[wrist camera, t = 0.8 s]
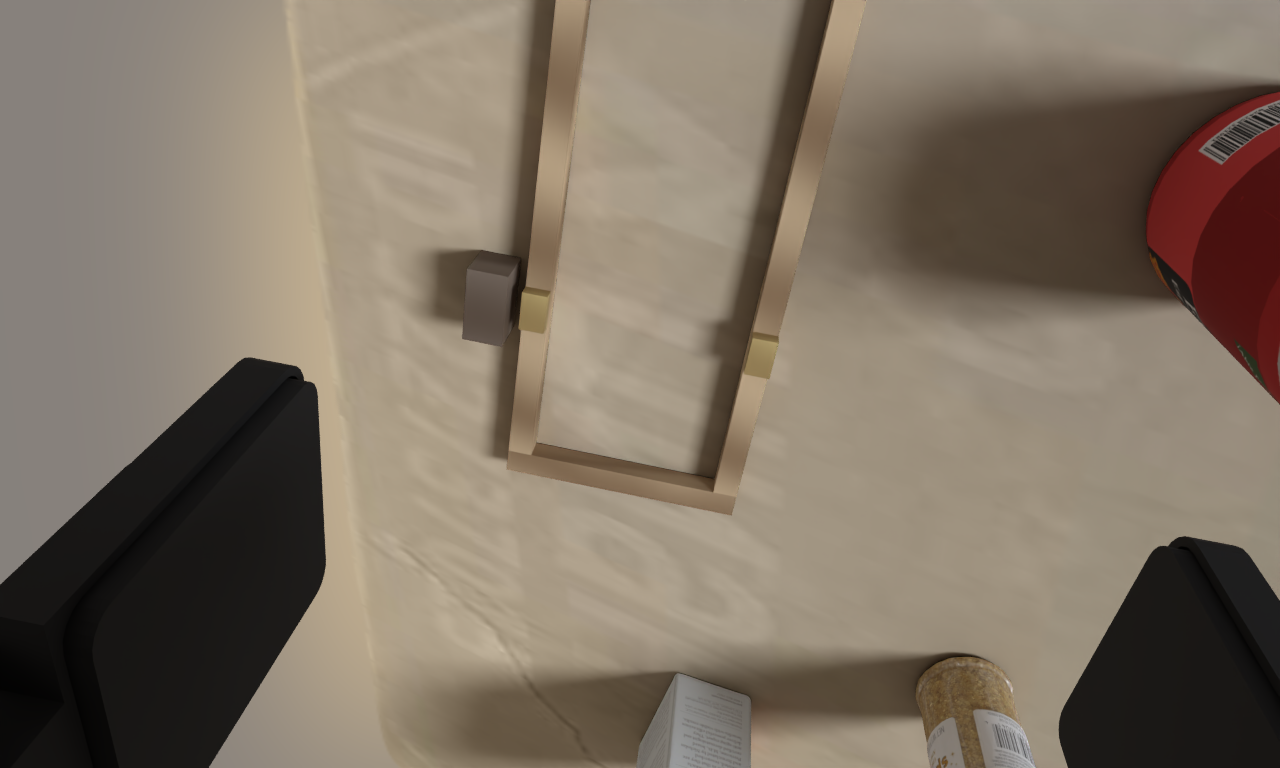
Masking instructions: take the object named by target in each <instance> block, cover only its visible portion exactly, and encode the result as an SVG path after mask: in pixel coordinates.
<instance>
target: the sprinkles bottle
mask: <svg viewBox="0 0 1280 768" xmlns="http://www.w3.org/2000/svg"><path fill="white" fill-rule="evenodd" d="M1013 695H1014V693H1013V687H1012V684H1011V681H1010V679H1009V678H1008V676H1007V675H1006V673H1005V672H1004V671H1003V670H1001V669H1000V668H999V667H998V666H996V665H994V664H993V663H990V662H988V661H986V660H983V659H979V658H974V657H956V658H948V659H946V660H944V661H941V662H938V663H936V664H935V665H933V666H932V667H931V668H930V669H928V670H926V671H925V672H924V674H923V675H922V676H921V677H920V678H919V681H918V683H917V687H916V701H917V703H918V707H919V709H920V710H921V714H922V718H923V724H924V730H925V735H926V740H927V751H928V757H929V762H930V767H931V768H1036V766H1035V763H1034V760H1033V756H1032V753H1031V750H1030V747H1029V744H1028V740H1027V737H1026V735H1025V733H1024V731H1023V729H1022V727H1021V723H1020V720H1019V717H1018V714H1017V711H1016V708H1015V704H1014V700H1013Z"/></svg>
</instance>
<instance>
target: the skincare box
mask: <svg viewBox="0 0 1280 768" xmlns="http://www.w3.org/2000/svg"><path fill="white" fill-rule="evenodd" d="M636 768H751V699H750V698H749V697H748V696H747V695H744V694H741V693H737V692H734V691H731V690H728V689H725V688H722V687H719V686H716V685H713V684H710V683H707V682H704V681H701V680H698V679H696V678H693V677H690V676H687V675H684V674H680V673H677V674H675V676H674V679H673V681H672V683H671V684H670V686H669V688H668V690H667V692H666V694H665V696H664V698H663V700H662V702H661V704H660V706H659V708H658V710H657V712H656V714H655V716H654V718H653V720H652V721H651V723H650V726H649V728H648V730H647V731H646V733H645V735H644V737H643V739H642V741H641V743H640V745H639V750H638V759H637V766H636Z"/></svg>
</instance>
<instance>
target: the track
mask: <svg viewBox="0 0 1280 768" xmlns="http://www.w3.org/2000/svg"><path fill="white" fill-rule="evenodd" d="M590 1H591V0H556V3H555V13H554V22H553V32H552V41H551V51H550V60H549V70H548V79H547V89H546V98H545V108H544V117H543V127H542V137H541V146H540V156H539V165H538V175H537V184H536V194H535V203H534V213H533V222H532V232H531V241H530V251H529V260H528V270H527V279H526V287H525V288H524V290H523V292H522V299H521V308H520V318H519V328H518V329H520V330H521V337H520V346H519V356H518V365H517V375H516V384H515V394H514V403H513V413H512V422H511V432H510V442H509V451H508V461H507V469H508V470H512V471H517V472H522V473H527V474H532V475H537V476H542V477H547V478H552V479H556V480H561V481H566V482H571V483H576V484H581V485H586V486H591V487H595V488H600V489H605V490H610V491H615V492H620V493H625V494H630V495H634V496H639V497H644V498H649V499H654V500H659V501H664V502H669V503H674V504H678V505H683V506H688V507H693V508H698V509H703V510H708V511H713V512H717V513H722V514H727V515H732V512H733V508H734V504H735V500H736V496H737V493H738V489H739V485H740V481H741V477H742V474H743V470H744V466H745V462H746V458H747V454H748V451H749V447H750V443H751V439H752V435H753V432H754V428H755V424H756V420H757V416H758V413H759V409H760V405H761V401H762V397H763V393H764V390H765V386H766V382H767V379H769V378H770V374H771V370H772V366H773V363H774V359H775V355H776V351H777V347H778V344H779V337H778V336H779V333H780V329H781V325H782V321H783V317H784V313H785V310H786V306H787V302H788V298H789V294H790V291H791V287H792V283H793V279H794V275H795V272H796V268H797V264H798V260H799V256H800V253H801V249H802V245H803V241H804V237H805V233H806V230H807V226H808V222H809V218H810V214H811V211H812V207H813V203H814V199H815V195H816V192H817V188H818V184H819V180H820V176H821V172H822V169H823V165H824V161H825V157H826V153H827V150H828V146H829V142H830V138H831V134H832V131H833V127H834V123H835V119H836V115H837V112H838V108H839V104H840V100H841V96H842V92H843V89H844V85H845V81H846V77H847V73H848V70H849V66H850V62H851V58H852V54H853V51H854V47H855V43H856V39H857V35H858V32H859V28H860V24H861V20H862V16H863V12H864V9H865V5H866V0H832V1H831V6H830V10H829V14H828V18H827V22H826V26H825V30H824V34H823V38H822V42H821V46H820V51H819V55H818V59H817V63H816V67H815V71H814V75H813V79H812V83H811V87H810V91H809V95H808V100H807V104H806V108H805V112H804V116H803V120H802V124H801V128H800V132H799V136H798V140H797V144H796V149H795V153H794V157H793V161H792V165H791V169H790V173H789V177H788V181H787V185H786V189H785V194H784V198H783V202H782V206H781V210H780V214H779V218H778V222H777V226H776V230H775V234H774V238H773V243H772V247H771V251H770V255H769V259H768V263H767V267H766V271H765V275H764V279H763V283H762V287H761V292H760V296H759V300H758V304H757V308H756V312H755V316H754V320H753V324H752V328H751V332H750V337H749V341H748V345H747V349H746V353H745V357H744V361H743V365H742V369H741V373H740V377H739V381H738V386H737V390H736V394H735V398H734V402H733V406H732V410H731V414H730V418H729V422H728V426H727V430H726V435H725V439H724V443H723V447H722V451H721V455H720V459H719V463H718V467H717V471H716V475H715V479H712V478H707V477H702V476H697V475H692V474H687V473H682V472H677V471H672V470H667V469H663V468H658V467H653V466H648V465H643V464H638V463H633V462H628V461H623V460H618V459H613V458H609V457H604V456H599V455H594V454H589V453H584V452H579V451H574V450H569V449H564V448H559V447H555V446H550V445H545V444H540V443H536V441H537V433H538V425H539V417H540V409H541V400H542V392H543V384H544V376H545V368H546V360H547V351H548V343H549V335H550V327H551V319H552V311H553V303H554V294H555V286H556V278H557V270H558V262H559V254H560V245H561V237H562V229H563V221H564V213H565V205H566V196H567V188H568V180H569V172H570V164H571V156H572V147H573V139H574V131H575V123H576V115H577V107H578V98H579V90H580V82H581V74H582V66H583V58H584V49H585V41H586V33H587V25H588V17H589V9H590ZM520 263H521V258H518V257H513V256H508V255H503V254H498V253H493V252H488V251H483V250H481V252H480V253H479V254H478V255H477V257H476V258H475V259H474V261H473V262H472V263H471V264H470V266H469V267H468V268H467V277H466V291H465V305H464V320H463V334H462V339H465V340H470V341H475V342H480V343H485V344H490V345H495V346H500V347H502V346H503V344H504V342H505V341H506V339H507V337H508V335H509V334H510V332H511V330H512V328H513V327H514V323H515V313H516V303H517V293H518V283H519V273H520Z"/></svg>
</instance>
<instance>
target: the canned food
mask: <svg viewBox="0 0 1280 768" xmlns="http://www.w3.org/2000/svg"><path fill="white" fill-rule="evenodd" d="M1146 237H1147V244H1148V249H1149V255H1150V260H1151V262H1152V264H1153V266H1154V269H1155V271H1156V273H1157V275H1158V277H1159V278H1160V279H1161V280H1162V282H1163V283H1164V284H1165V285H1166V287H1167V288H1168V289H1169V290H1170V291H1171V292H1172V293H1173V294H1174V295H1175V296H1176V297H1177V299H1178V300H1179V301H1180V302H1181V303H1182V304H1183V305H1184V306H1185V307H1186V308H1187V309H1188V310H1189V311H1190V312H1191V313H1192V314H1193V315H1194V316H1195V317H1196V318H1197V319H1198V320H1199V321H1200V322H1201V323H1202V324H1203V325H1204V326H1205V328H1206V329H1207V330H1208V331H1209V332H1210V333H1211V334H1212V335H1213V336H1214V337H1215V338H1216V339H1217V340H1218V341H1219V342H1220V343H1221V344H1222V345H1223V346H1224V347H1225V348H1226V349H1227V350H1228V351H1229V352H1230V353H1231V354H1232V355H1233V357H1234V358H1235V359H1236V360H1237V361H1238V362H1239V363H1240V364H1241V365H1242V366H1243V367H1244V368H1245V369H1246V370H1247V371H1248V372H1249V373H1250V374H1251V375H1252V376H1253V377H1254V378H1255V379H1256V380H1257V381H1258V382H1259V383H1260V385H1261V386H1262V387H1263V388H1264V389H1265V390H1266V391H1267V392H1268V393H1269V394H1270V395H1271V396H1272V397H1273V398H1274V399H1275V400H1276V401H1277V402H1278V403H1279V404H1280V92H1277V93H1272V94H1267V95H1262V96H1258V97H1256V98H1253V99H1250V100H1248V101H1245V102H1242V103H1240V104H1237V105H1235V106H1233V107H1231V108H1230V109H1228V110H1226V111H1224V112H1223V113H1221V114H1219V115H1217V116H1215V117H1214V118H1212V119H1211V120H1210V121H1208V122H1207V123H1206V124H1205V125H1203V126H1202V127H1201V128H1199V129H1198V130H1197V131H1196V132H1194V133H1193V134H1192V135H1191V136H1190V137H1189V138H1188V139H1187V140H1186V141H1185V142H1184V143H1183V144H1182V145H1181V146H1180V147H1179V149H1178V150H1177V151H1176V152H1175V153H1174V155H1173V156H1172V157H1171V159H1170V160H1169V162H1168V163H1167V165H1166V166H1165V167H1164V169H1163V170H1162V172H1161V174H1160V176H1159V178H1158V180H1157V182H1156V185H1155V187H1154V189H1153V191H1152V194H1151V198H1150V202H1149V206H1148V209H1147V219H1146Z"/></svg>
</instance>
